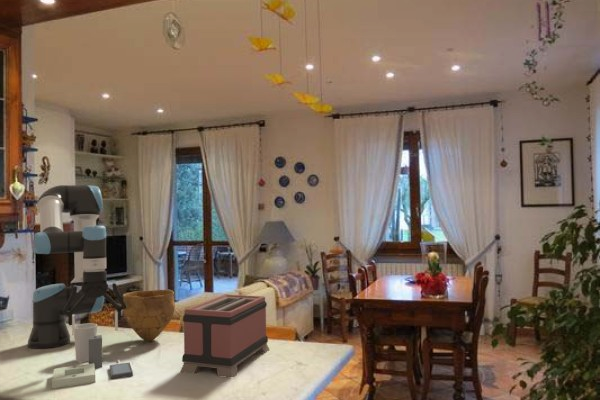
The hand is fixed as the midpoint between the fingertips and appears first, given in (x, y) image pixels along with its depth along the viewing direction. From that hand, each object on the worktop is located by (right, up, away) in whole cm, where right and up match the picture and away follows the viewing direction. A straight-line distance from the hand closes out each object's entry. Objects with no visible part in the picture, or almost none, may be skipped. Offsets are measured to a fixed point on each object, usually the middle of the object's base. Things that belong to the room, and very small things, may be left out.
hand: (95, 332), depth 167 cm
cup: (-7, -12, +8) cm, 16 cm away
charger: (0, -12, 0) cm, 12 cm away
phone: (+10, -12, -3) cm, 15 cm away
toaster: (+45, -12, +7) cm, 47 cm away
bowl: (+9, -12, +31) cm, 34 cm away
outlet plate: (-2, -12, -12) cm, 17 cm away
